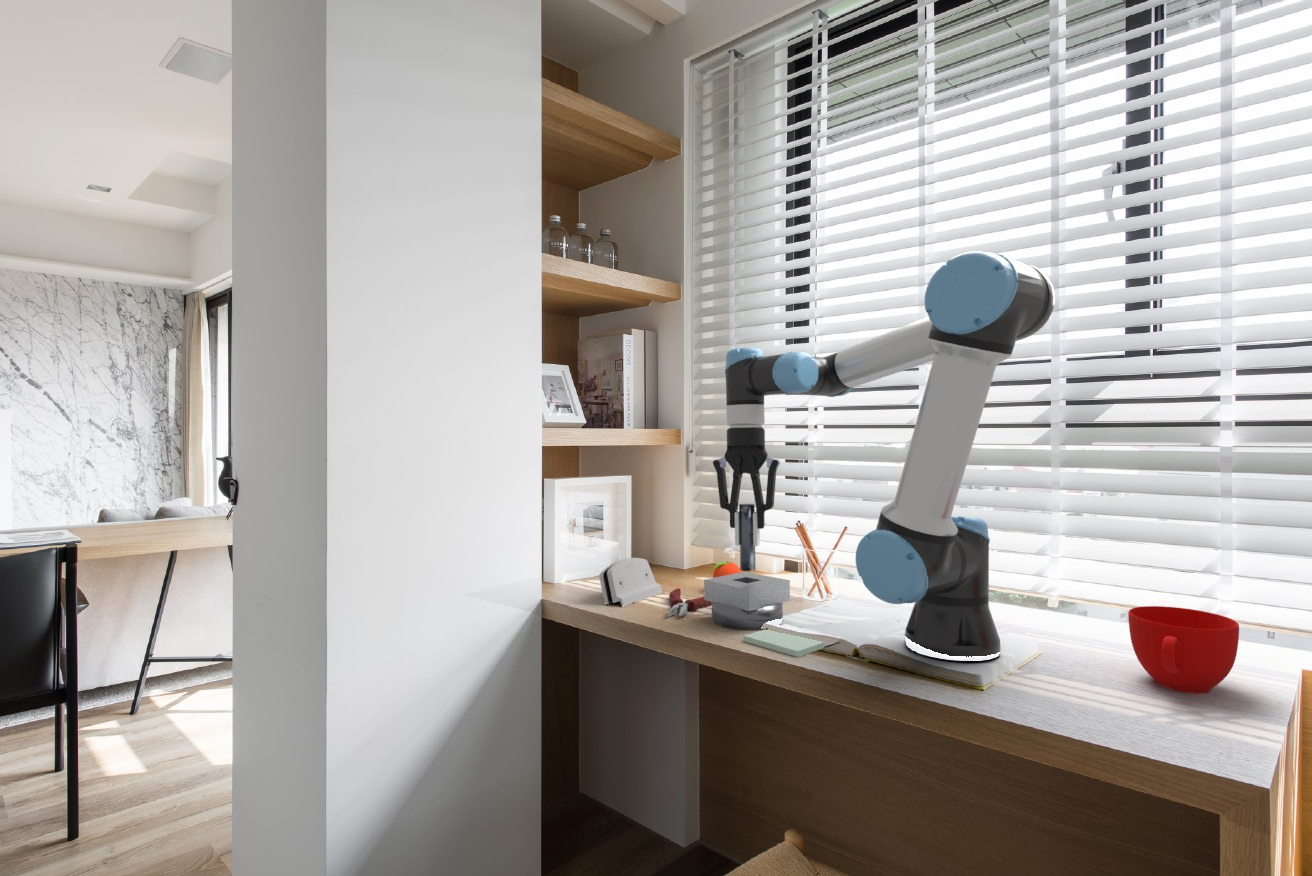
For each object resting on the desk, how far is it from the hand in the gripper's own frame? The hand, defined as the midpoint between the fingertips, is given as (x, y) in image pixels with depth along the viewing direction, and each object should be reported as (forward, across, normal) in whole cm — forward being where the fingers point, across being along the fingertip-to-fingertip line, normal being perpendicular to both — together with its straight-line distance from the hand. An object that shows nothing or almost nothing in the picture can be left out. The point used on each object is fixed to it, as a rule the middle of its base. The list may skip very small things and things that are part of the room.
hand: (747, 544), depth 139 cm
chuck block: (+15, 0, 0) cm, 15 cm away
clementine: (+15, +10, -23) cm, 30 cm away
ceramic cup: (+16, -66, +17) cm, 71 cm away
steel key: (+5, 0, 0) cm, 5 cm away
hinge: (+15, +30, -11) cm, 35 cm away
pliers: (+16, +16, -7) cm, 24 cm away
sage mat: (+15, -10, +12) cm, 22 cm away
